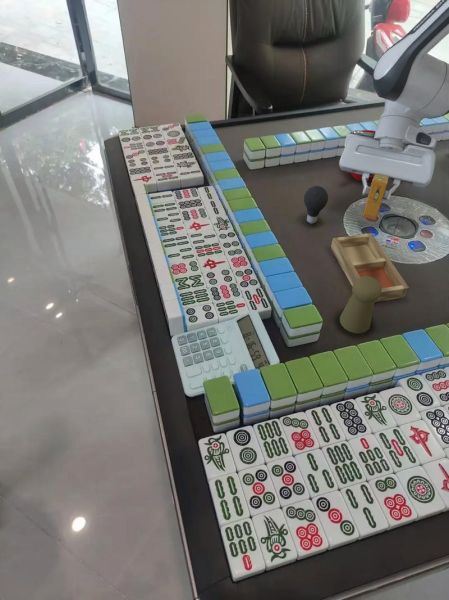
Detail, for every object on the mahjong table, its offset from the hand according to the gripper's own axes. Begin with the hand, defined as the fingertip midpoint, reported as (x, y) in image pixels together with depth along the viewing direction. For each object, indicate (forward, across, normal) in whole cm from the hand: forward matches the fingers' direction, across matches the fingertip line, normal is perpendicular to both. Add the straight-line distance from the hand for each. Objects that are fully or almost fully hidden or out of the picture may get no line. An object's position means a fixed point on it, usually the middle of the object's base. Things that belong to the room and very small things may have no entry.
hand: (375, 197), depth 98 cm
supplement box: (+4, 0, +4) cm, 6 cm away
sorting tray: (+17, +3, -3) cm, 17 cm away
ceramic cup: (-10, -6, +23) cm, 26 cm away
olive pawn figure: (+28, +4, -14) cm, 31 cm away
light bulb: (+8, -13, +5) cm, 16 cm away
